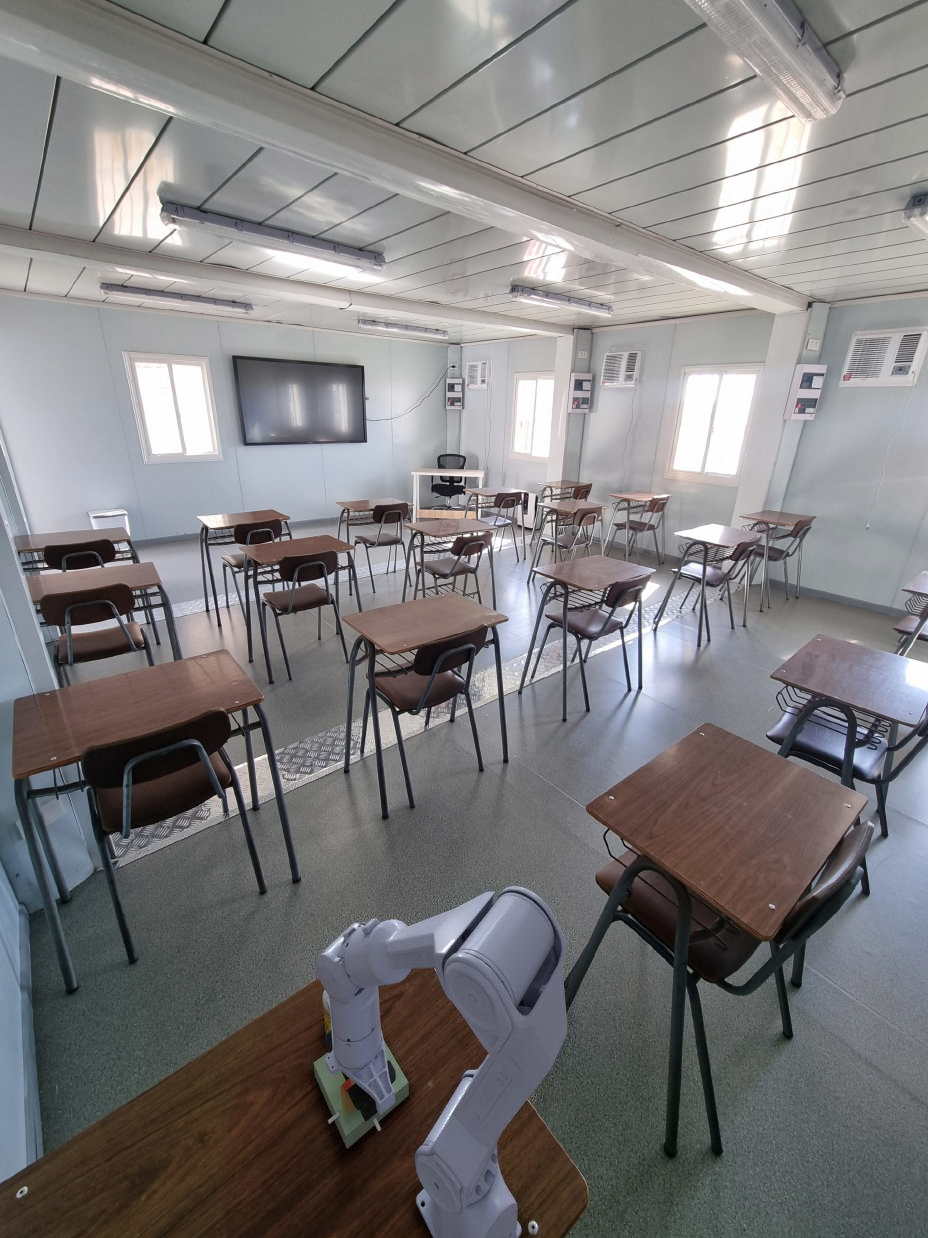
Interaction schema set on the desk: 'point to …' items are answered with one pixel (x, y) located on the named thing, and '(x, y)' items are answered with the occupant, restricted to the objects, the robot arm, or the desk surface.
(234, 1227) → the desk surface
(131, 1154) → the desk surface
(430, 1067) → the desk surface
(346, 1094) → the block
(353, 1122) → the lock plate
